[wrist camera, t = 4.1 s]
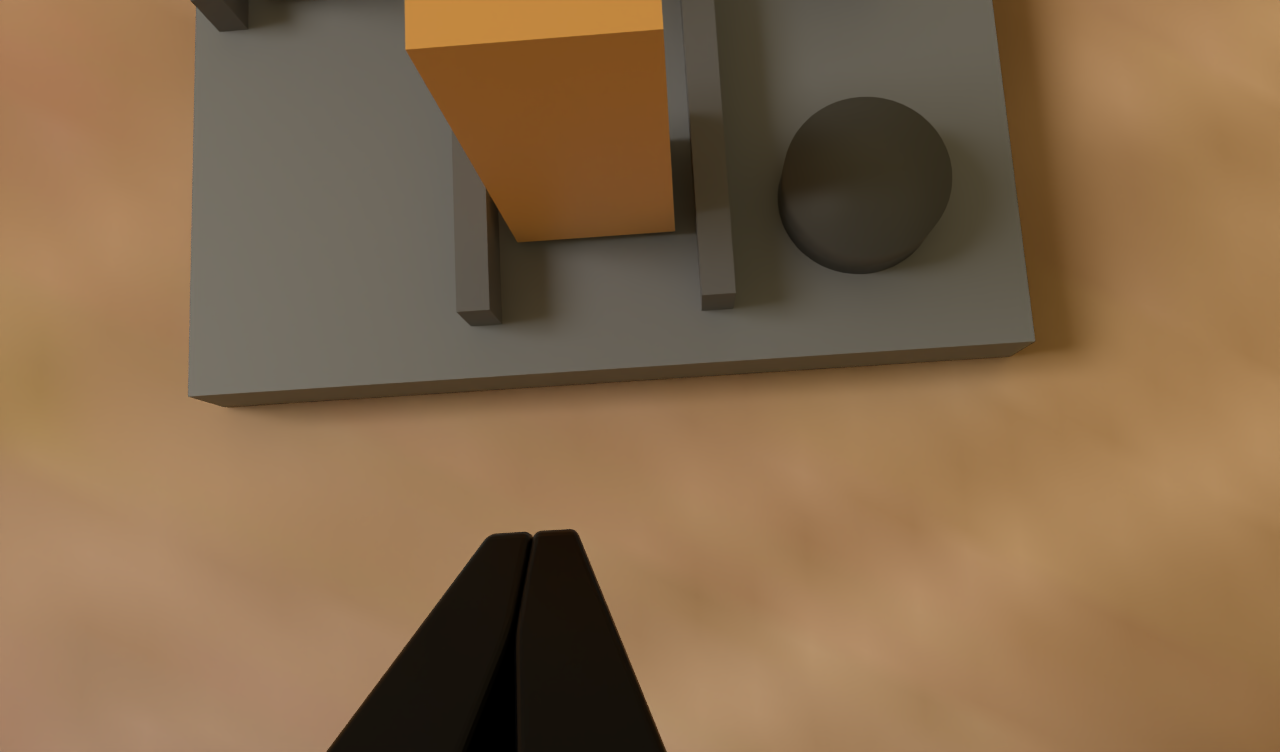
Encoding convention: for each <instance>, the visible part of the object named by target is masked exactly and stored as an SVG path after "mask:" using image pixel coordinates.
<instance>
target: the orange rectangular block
mask: <svg viewBox="0 0 1280 752" xmlns="http://www.w3.org/2000/svg"><path fill="white" fill-rule="evenodd" d="M405 50H406V51H407V53H408V55H409V57H410V58H411V60H412V62H413V64H414V65H415V67H416V69H417V70H418V72H419V74H420V76H421V77H422V79H423V81H424V82H425V84H426V86H427V88H428V89H429V91H430V93H431V94H432V96H433V98H434V100H435V101H436V103H437V105H438V107H439V108H440V110H441V112H442V113H443V115H444V117H445V119H446V120H447V122H448V124H449V125H450V127H451V129H452V131H453V132H454V134H455V136H456V138H457V139H458V141H459V143H460V144H461V146H462V148H463V150H464V151H465V153H466V155H467V156H468V158H469V160H470V162H471V163H472V165H473V167H474V169H475V170H476V172H477V174H478V175H479V177H480V179H481V181H482V182H483V184H484V186H485V187H486V189H487V191H488V193H489V194H490V196H491V198H492V200H493V201H494V203H495V205H496V206H497V208H498V210H499V212H500V213H501V215H502V217H503V218H504V220H505V222H506V224H507V225H508V227H509V229H510V231H511V232H512V234H513V236H514V237H515V239H516V241H517V242H531V241H545V240H559V239H573V238H587V237H602V236H616V235H630V234H644V233H658V232H672V231H675V221H674V204H673V186H672V169H671V152H670V134H669V117H668V100H667V83H666V65H665V48H664V31H663V15H662V0H405Z"/></svg>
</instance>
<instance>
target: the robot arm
mask: <svg viewBox="0 0 1280 752" xmlns="http://www.w3.org/2000/svg"><path fill="white" fill-rule="evenodd" d="M327 752H667V751H666V749H665V747H664V744H663V742H662V739H661V737H660V734H659V732H658V729H657V727H656V724H655V722H654V719H653V717H652V714H651V712H650V710H649V707H648V705H647V702H646V700H645V697H644V695H643V692H642V690H641V687H640V685H639V682H638V680H637V678H636V675H635V673H634V670H633V668H632V665H631V663H630V660H629V658H628V655H627V653H626V650H625V648H624V645H623V643H622V641H621V638H620V636H619V633H618V631H617V628H616V626H615V623H614V621H613V618H612V616H611V613H610V611H609V608H608V606H607V604H606V601H605V599H604V596H603V594H602V591H601V589H600V586H599V584H598V581H597V579H596V576H595V574H594V571H593V569H592V567H591V564H590V562H589V559H588V557H587V554H586V552H585V549H584V547H583V544H582V542H581V539H580V537H579V535H578V533H577V532H576V531H575V530H572V529H566V530H548V531H539V532H537V533H536V534H535V535H534V537H533V536H532V535H531V534H529V533H528V532H515V533H498V534H492V535H490V536H489V537H487V538H486V539H485V540H484V542H483V543H482V544H481V546H480V547H479V548H478V550H477V551H476V552H475V554H474V555H473V556H472V558H471V559H470V560H469V562H468V563H467V564H466V566H465V567H464V568H463V570H462V571H461V572H460V574H459V575H458V576H457V578H456V579H455V580H454V582H453V583H452V584H451V586H450V587H449V588H448V590H447V591H446V592H445V594H444V595H443V597H442V598H441V599H440V601H439V602H438V603H437V605H436V606H435V607H434V609H433V610H432V611H431V613H430V614H429V615H428V617H427V618H426V619H425V621H424V622H423V623H422V625H421V626H420V627H419V629H418V630H417V631H416V633H415V634H414V635H413V637H412V638H411V639H410V641H409V642H408V643H407V645H406V646H405V647H404V649H403V650H402V651H401V653H400V654H399V655H398V657H397V658H396V659H395V661H394V662H393V663H392V665H391V666H390V667H389V669H388V670H387V671H386V673H385V674H384V675H383V677H382V678H381V679H380V681H379V682H378V683H377V685H376V686H375V687H374V689H373V690H372V691H371V693H370V694H369V695H368V697H367V698H366V699H365V701H364V702H363V704H362V705H361V706H360V708H359V709H358V710H357V712H356V713H355V714H354V716H353V717H352V718H351V720H350V721H349V722H348V724H347V725H346V726H345V728H344V729H343V730H342V732H341V733H340V734H339V736H338V737H337V738H336V740H335V741H334V742H333V744H332V745H331V746H330V748H329V749H328V750H327Z"/></svg>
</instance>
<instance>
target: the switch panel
mask: <svg viewBox="0 0 1280 752" xmlns="http://www.w3.org/2000/svg"><path fill="white" fill-rule="evenodd" d="M191 2H192V3H193V4H194V5H195V6H196V35H195V84H194V133H193V182H192V230H191V279H190V328H189V377H188V397H192V398H195V399H198V400H202V401H205V402H209V403H212V404H215V405H219V406H222V407H234V406H250V405H265V404H281V403H296V402H312V401H327V400H343V399H358V398H374V397H389V396H405V395H420V394H436V393H451V392H466V391H482V390H497V389H513V388H528V387H544V386H559V385H575V384H590V383H606V382H621V381H637V380H652V379H668V378H683V377H699V376H714V375H730V374H745V373H761V372H776V371H792V370H807V369H823V368H838V367H854V366H869V365H885V364H900V363H915V362H931V361H946V360H962V359H977V358H993V357H1008V356H1011V355H1013V354H1015V353H1016V352H1018V351H1020V350H1021V349H1023V348H1025V347H1027V346H1028V345H1030V344H1032V343H1033V342H1035V335H1034V327H1033V319H1032V312H1031V304H1030V296H1029V288H1028V280H1027V272H1026V264H1025V256H1024V248H1023V240H1022V232H1021V225H1020V217H1019V209H1018V201H1017V193H1016V185H1015V177H1014V169H1013V161H1012V153H1011V145H1010V138H1009V130H1008V122H1007V114H1006V106H1005V98H1004V90H1003V82H1002V74H1001V66H1000V58H999V51H998V43H997V35H996V27H995V19H994V11H993V3H992V0H662V15H663V31H664V48H665V65H666V83H667V100H668V117H669V134H670V152H671V169H672V186H673V204H674V221H675V231H672V232H658V233H644V234H630V235H616V236H602V237H587V238H573V239H559V240H545V241H531V242H517V241H516V239H515V237H514V236H513V234H512V232H511V231H510V229H509V227H508V225H507V224H506V222H505V220H504V218H503V217H502V215H501V213H500V212H499V210H498V208H497V206H496V205H495V203H494V201H493V200H492V198H491V196H490V194H489V193H488V191H487V189H486V187H485V186H484V184H483V182H482V181H481V179H480V177H479V175H478V174H477V172H476V170H475V169H474V167H473V165H472V163H471V162H470V160H469V158H468V156H467V155H466V153H465V151H464V150H463V148H462V146H461V144H460V143H459V141H458V139H457V138H456V136H455V134H454V132H453V131H452V129H451V127H450V125H449V124H448V122H447V120H446V119H445V117H444V115H443V113H442V112H441V110H440V108H439V107H438V105H437V103H436V101H435V100H434V98H433V96H432V94H431V93H430V91H429V89H428V88H427V86H426V84H425V82H424V81H423V79H422V77H421V76H420V74H419V72H418V70H417V69H416V67H415V65H414V64H413V62H412V60H411V58H410V57H409V55H408V53H407V51H406V50H405V0H191Z"/></svg>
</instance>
